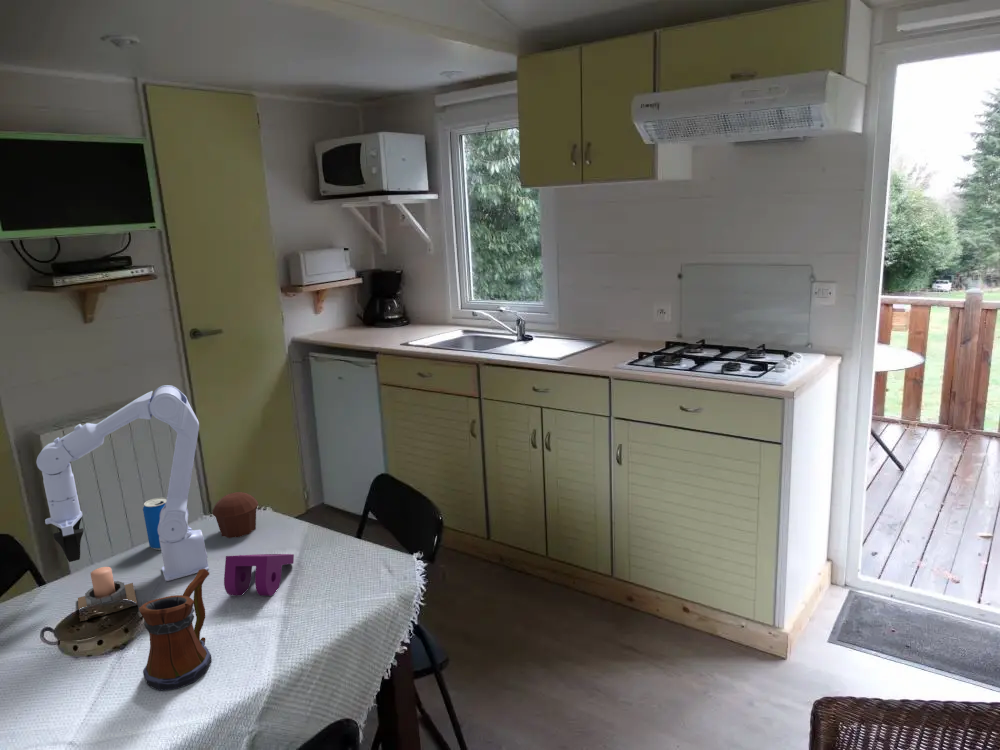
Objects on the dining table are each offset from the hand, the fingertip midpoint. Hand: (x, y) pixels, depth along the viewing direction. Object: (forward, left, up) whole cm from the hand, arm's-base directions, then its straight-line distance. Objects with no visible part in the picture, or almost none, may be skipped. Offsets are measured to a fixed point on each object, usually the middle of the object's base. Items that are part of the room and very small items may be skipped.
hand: (73, 553), depth 161 cm
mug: (-17, +43, -10) cm, 47 cm away
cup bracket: (-5, +9, -10) cm, 14 cm away
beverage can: (-19, -15, -10) cm, 26 cm away
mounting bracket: (-36, +20, -10) cm, 43 cm away
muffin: (-37, -12, -10) cm, 40 cm away
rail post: (-5, +9, -9) cm, 13 cm away
